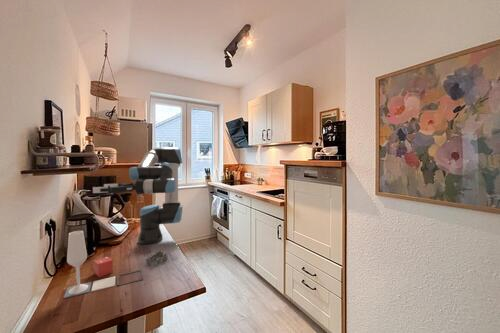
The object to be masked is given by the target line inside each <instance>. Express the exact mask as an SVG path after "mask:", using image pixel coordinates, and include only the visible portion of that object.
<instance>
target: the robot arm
mask: <svg viewBox="0 0 500 333" xmlns="http://www.w3.org/2000/svg"><path fill="white" fill-rule="evenodd" d="M156 164H157V165H158V164H159V165H158V166H155V165H156ZM182 164H183V158H182V152H181V149H180V147H155V148H151V149H150V150H147V151H146V152H145V153H144V155H143V156H142V160H141V161H140V163H139V164H138V166H131V167H130V168H129V170H128V171H129V172H128V174H129V175H128V176H129V179H130V181H135V183H134V182H128V183H127V182H125V183H124V182H121V183H104V184H103V186H97V187H96V186H93V187H92V194H103V193H104V194H105V193H106V194H113V193H123V192H124V193H125V192H133V191H135V193H136V195H144V194H147V195H151V196H152V194H165V195H164V202H163V203H162V206H160V204H156V203H155V204H150V205H146V206H144V207H141V208H140V211H139V221H140V222H139V224H140V225H139V226H140V230H139V234H138V236H137V237H138V238H137V243H138V244H139V245H153V244H157V243H160V242H161V241H162V240H163V234H162V231H161V228H160V225H167V224H169V225H170V224H178V223H180V222H181V221H182V215H183V207H184V206H183V205H182V204H181V202H180V201H179V168H180V167H181V165H182Z"/></svg>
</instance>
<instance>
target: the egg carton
mask: <svg viewBox="0 0 500 333" xmlns="http://www.w3.org/2000/svg"><path fill="white" fill-rule="evenodd" d="M168 256H169V254H168V253H166V252H165V253H164V252H163V251H162V250H158V251H156V252H155V253H154V254H152V255H151V256H149V257H148V258H145V259H144V261H145V265H146V266H149V265H150V267H156V266H157V265H158V264H162V263H163V262H164V261H167V260H168Z"/></svg>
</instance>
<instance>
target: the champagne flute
mask: <svg viewBox="0 0 500 333" xmlns="http://www.w3.org/2000/svg"><path fill="white" fill-rule="evenodd" d="M66 254H67V255H66V263H67V264H68V265H69V266H70V267H71V266H72V267H74V268H75V276H76V280H75V281H76V286H75V285H74V286H75V287H73V288H72V289H70V290H69V294H76V293H80V292H82V291H84V290H86V289H87V288H88V285H85V284H84V283H81V273H80V272H81V270H80V267H81V266H82V265H83V264H84V263H85V261H86V260H87V258H88V253H87V247H86V241H85V235H84V231H83V230H76V231H72V232H71V231H70V232H69V233H68V240H67V253H66Z"/></svg>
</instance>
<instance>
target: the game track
mask: <svg viewBox="0 0 500 333" xmlns="http://www.w3.org/2000/svg"><path fill="white" fill-rule="evenodd" d="M142 272H143V271H142V269H138V270H133V271H129V272H126V273H124V272H123V273H120V274H118V275H117V277H116V276H115V275H114V276H111V277H108V278H103V279H98V280H93V281H89V282H85V283H83V284H85V285H88V288H87V289H86V290H84V291H82V292H80V293H76V294H69V290H70V289H72V288H73V287H75V286H76V285H77V284H76V285H72V286H67V289H66V291H65V293H64V296H63V298H62V299H63V300H64V299H68V298H72V297H76V296H80V295H84V294H88V293H90V292H91V293H92V292H96V291H100V290H101V291H102V290H105V289H108V288H113V287H116V286H117V287H121V286H124V285H128V284H133V283H137V282H140V281H143V280H144V279H143V273H142ZM134 273H140V278H139V279H135V280H132V281H131V280H130V281H128V282H124V283H120V277H122V276H125V275H130V274H134ZM116 279H117V280H116Z"/></svg>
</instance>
